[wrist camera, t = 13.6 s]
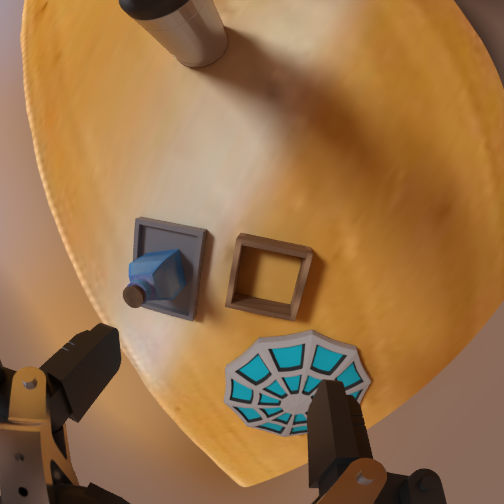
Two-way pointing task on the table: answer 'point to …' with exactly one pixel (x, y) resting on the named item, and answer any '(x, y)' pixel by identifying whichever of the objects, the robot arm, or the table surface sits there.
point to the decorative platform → (289, 379)
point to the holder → (264, 305)
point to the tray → (191, 252)
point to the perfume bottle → (154, 278)
